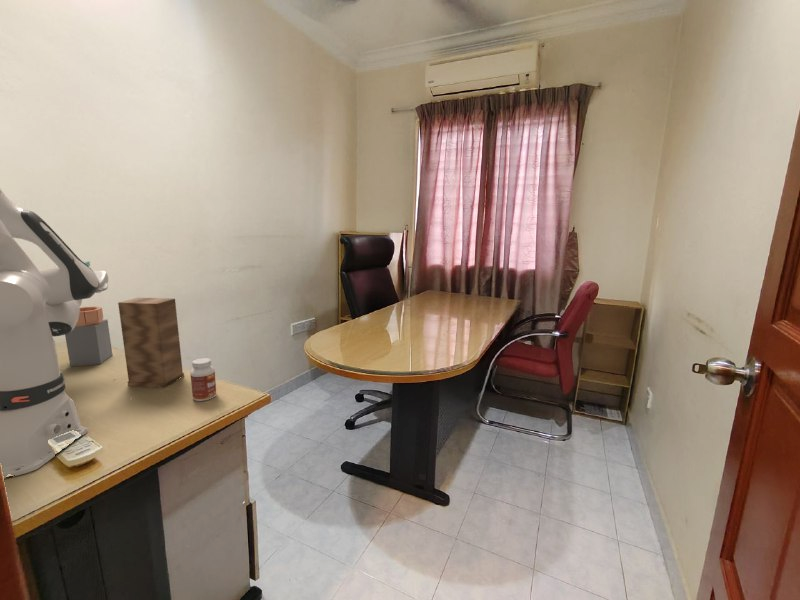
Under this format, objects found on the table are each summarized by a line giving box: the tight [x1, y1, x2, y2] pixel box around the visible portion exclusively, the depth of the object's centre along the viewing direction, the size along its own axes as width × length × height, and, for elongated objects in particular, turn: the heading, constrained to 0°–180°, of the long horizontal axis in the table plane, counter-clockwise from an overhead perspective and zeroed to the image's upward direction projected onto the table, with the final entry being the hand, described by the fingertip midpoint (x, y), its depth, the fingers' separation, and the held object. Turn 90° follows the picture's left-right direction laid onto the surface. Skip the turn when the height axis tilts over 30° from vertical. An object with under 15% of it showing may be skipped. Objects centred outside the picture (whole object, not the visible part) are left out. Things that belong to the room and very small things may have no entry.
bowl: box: [75, 306, 104, 327], centre depth 131 cm, size 9×9×5 cm
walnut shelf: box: [117, 297, 185, 389], centre depth 116 cm, size 12×9×26 cm
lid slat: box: [83, 261, 91, 267], centre depth 128 cm, size 20×4×2 cm, turn 30°
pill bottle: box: [189, 357, 217, 402], centre depth 107 cm, size 6×6×11 cm
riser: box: [64, 319, 113, 367], centre depth 133 cm, size 9×9×14 cm
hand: (70, 267), depth 122 cm, fingers closed on lid slat, 4 cm apart
